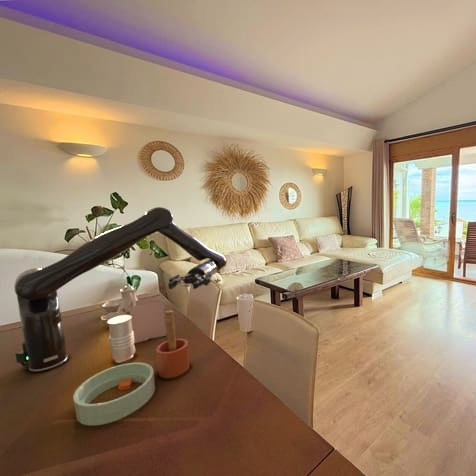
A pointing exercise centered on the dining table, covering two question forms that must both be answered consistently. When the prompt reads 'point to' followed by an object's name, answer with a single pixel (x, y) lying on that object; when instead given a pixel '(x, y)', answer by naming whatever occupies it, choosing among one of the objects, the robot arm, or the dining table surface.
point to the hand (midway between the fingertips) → (182, 286)
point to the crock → (172, 359)
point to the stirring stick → (170, 330)
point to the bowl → (117, 407)
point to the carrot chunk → (125, 384)
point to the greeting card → (147, 320)
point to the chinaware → (120, 304)
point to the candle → (121, 338)
